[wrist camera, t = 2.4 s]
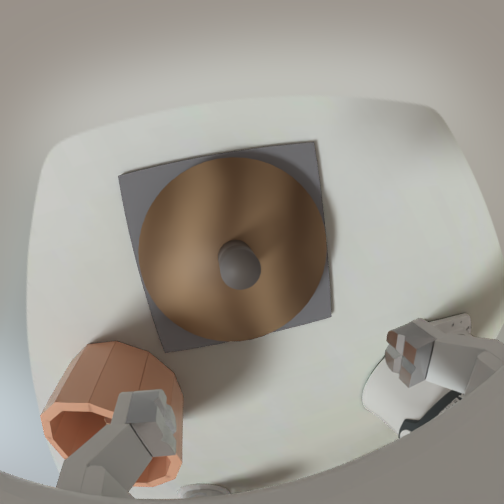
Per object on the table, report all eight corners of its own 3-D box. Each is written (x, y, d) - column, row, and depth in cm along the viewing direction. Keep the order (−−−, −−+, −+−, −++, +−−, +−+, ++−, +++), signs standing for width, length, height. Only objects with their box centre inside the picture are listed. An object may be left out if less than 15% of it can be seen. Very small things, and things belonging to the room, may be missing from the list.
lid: (309, 147, 24) (333, 140, 19) (327, 313, 29) (348, 337, 24) (124, 180, 22) (104, 179, 18) (168, 348, 27) (163, 379, 22)
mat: (311, 142, 25) (313, 142, 24) (329, 314, 30) (331, 316, 29) (119, 176, 23) (118, 176, 22) (165, 350, 27) (164, 352, 27)
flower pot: (159, 334, 27) (145, 400, 17) (195, 422, 31) (198, 484, 21) (54, 347, 25) (17, 399, 16) (101, 428, 29) (87, 481, 19)
